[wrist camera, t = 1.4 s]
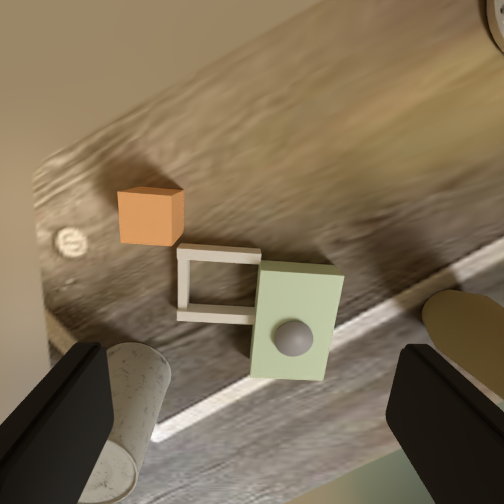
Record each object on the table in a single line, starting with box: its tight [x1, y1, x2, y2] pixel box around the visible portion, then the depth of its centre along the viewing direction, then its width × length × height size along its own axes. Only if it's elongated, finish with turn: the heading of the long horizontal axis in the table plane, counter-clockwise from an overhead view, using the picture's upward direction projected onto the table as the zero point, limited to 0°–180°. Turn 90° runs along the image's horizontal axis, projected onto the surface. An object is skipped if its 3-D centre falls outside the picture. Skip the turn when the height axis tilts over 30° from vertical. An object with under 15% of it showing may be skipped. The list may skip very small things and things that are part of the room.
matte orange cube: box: [117, 186, 184, 246], centre depth 27 cm, size 5×5×6 cm
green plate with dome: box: [177, 243, 344, 381], centre depth 32 cm, size 15×18×4 cm
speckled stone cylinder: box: [77, 342, 171, 504], centre depth 30 cm, size 10×10×12 cm
